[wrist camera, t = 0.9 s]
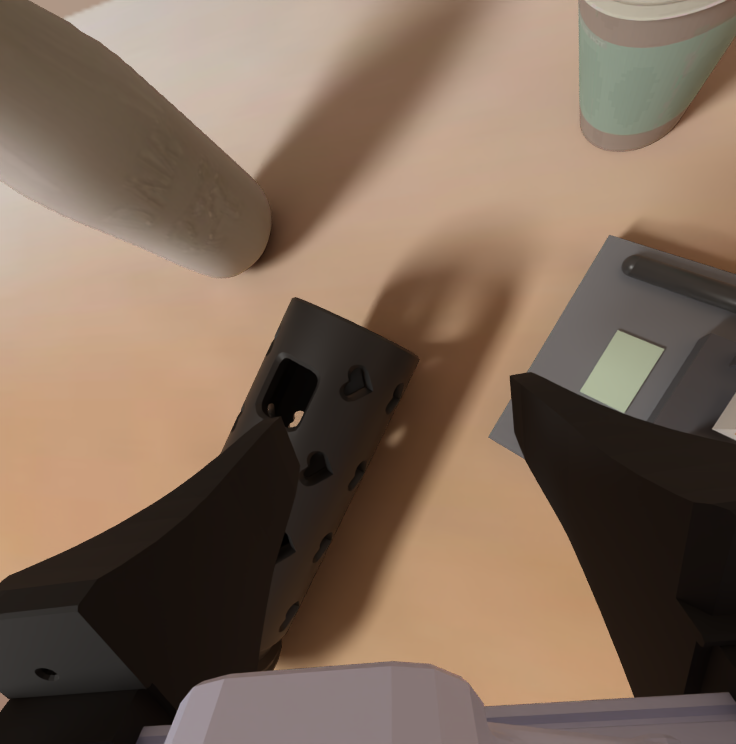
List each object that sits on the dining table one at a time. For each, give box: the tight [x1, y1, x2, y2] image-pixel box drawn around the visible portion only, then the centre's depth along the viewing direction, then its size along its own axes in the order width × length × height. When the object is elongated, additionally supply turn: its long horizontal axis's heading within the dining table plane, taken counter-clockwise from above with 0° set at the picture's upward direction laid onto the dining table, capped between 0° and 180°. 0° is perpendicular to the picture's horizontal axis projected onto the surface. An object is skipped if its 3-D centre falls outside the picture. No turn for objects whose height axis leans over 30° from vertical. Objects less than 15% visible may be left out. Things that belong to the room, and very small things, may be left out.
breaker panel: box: [489, 235, 736, 459], centre depth 19 cm, size 18×14×5 cm
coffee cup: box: [578, 0, 736, 152], centre depth 19 cm, size 8×8×12 cm
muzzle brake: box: [221, 297, 419, 672], centre depth 25 cm, size 10×28×10 cm, turn 152°
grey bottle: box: [0, 0, 272, 278], centre depth 24 cm, size 10×10×28 cm
